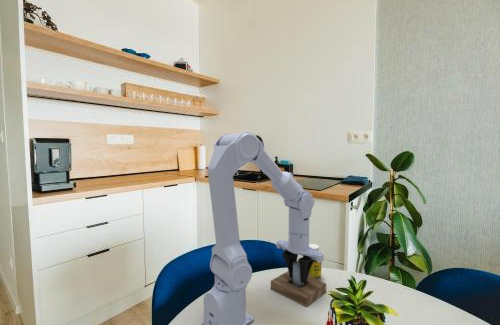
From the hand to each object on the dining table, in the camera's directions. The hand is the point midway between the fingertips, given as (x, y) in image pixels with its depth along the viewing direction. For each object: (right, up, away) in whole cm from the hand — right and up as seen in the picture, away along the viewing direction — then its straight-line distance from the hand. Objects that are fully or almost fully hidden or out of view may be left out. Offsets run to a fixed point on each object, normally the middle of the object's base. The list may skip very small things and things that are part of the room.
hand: (298, 278), depth 73 cm
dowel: (0, -3, 0) cm, 2 cm away
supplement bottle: (+6, -3, +7) cm, 10 cm away
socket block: (0, -3, 0) cm, 3 cm away
